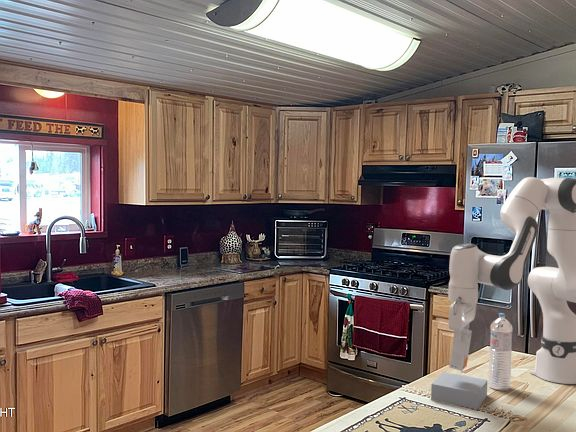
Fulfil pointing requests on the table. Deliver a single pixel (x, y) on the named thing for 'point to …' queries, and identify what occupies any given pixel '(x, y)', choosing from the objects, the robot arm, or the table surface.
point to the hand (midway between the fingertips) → (461, 338)
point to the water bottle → (500, 354)
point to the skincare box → (460, 351)
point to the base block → (459, 390)
